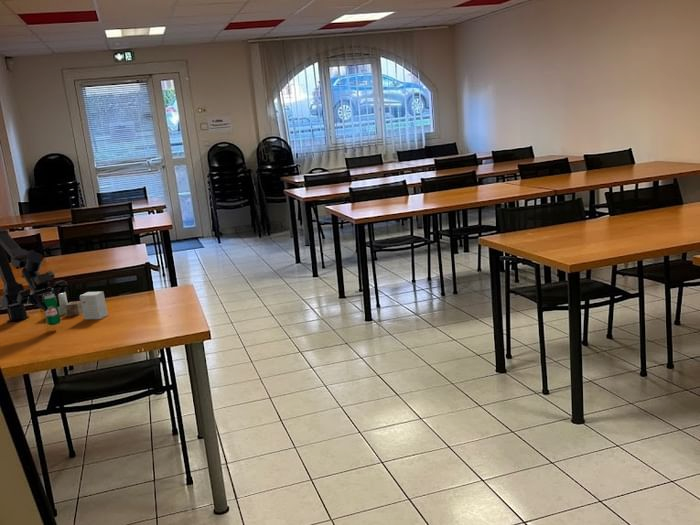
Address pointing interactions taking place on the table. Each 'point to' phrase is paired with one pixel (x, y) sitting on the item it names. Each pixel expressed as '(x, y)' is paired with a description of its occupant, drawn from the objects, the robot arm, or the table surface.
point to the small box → (93, 305)
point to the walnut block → (74, 308)
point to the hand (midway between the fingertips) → (52, 308)
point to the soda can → (51, 309)
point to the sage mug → (62, 303)
